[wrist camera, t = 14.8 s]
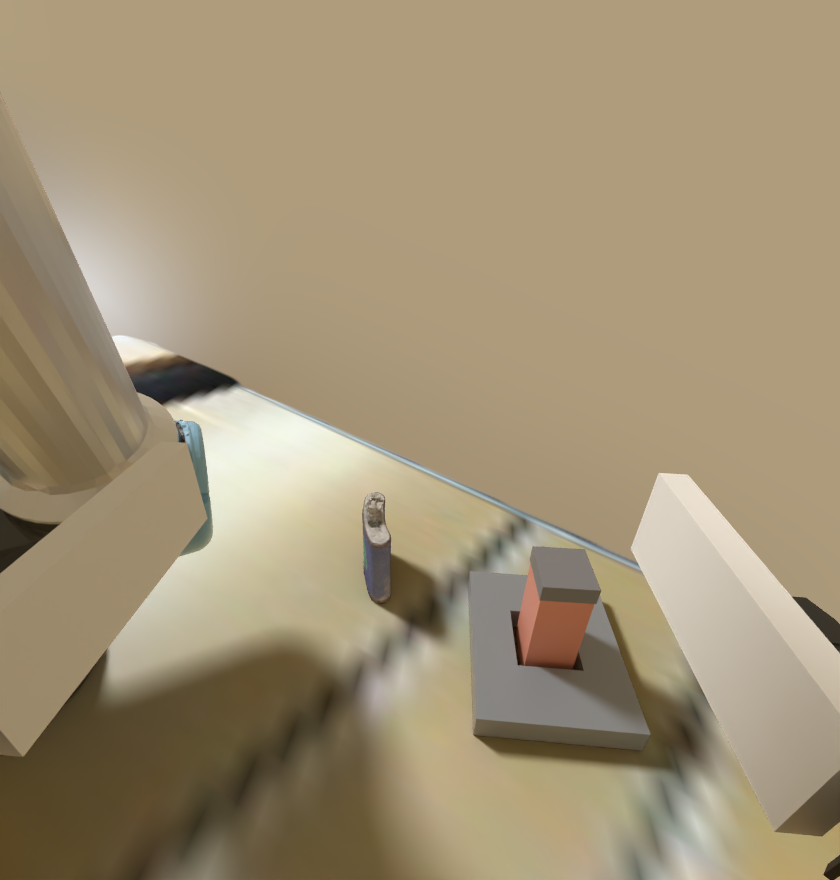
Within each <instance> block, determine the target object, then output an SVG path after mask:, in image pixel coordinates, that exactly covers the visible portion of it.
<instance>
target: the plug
mask: <svg viewBox="0 0 840 880" xmlns="http://www.w3.org/2000/svg"><path fill="white" fill-rule="evenodd" d="M530 562H531V563H530V568H529V573H528V577H527V582H526V587H525V591H524V596H523V600H522V605H521V610H520V614H519V619H518V624H517V628H516V633H515V636H516V642H517V648H518V654H519V661H520V665H521V666H533V667H545V668H556V669H568V670H572V669H573V666H574V663H575V660H576V657H577V654H578V652H579V649H580V646H581V643H582V640H583V637H584V634H585V631H586V628H587V625H588V622H589V619H590V616H591V613H592V610H593V607H594V604H597V601H598V598H599V595H600V593H601V589H600V587H599V584H598V582H597V579H596V577H595V574H594V572H593V569H592V567H591V564H590V562H589V559H588V556H587V554H586V551H585V549H568V548H551V547H534V546H533V547H532V552H531V557H530Z"/></svg>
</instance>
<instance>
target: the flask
mask: <svg viewBox="0 0 840 880" xmlns="http://www.w3.org/2000/svg"><path fill="white" fill-rule="evenodd" d="M362 520H363V543H364V575H365V580H366V585H367V590H368V593H369V596H370V598H371V599H372V600H373V601H374V602H376V603H383V602H387V601H388V599H389V598H390V595H391V589H390V552H391V537H390V536H391V535H390V533H389V531H388V529H387V526H386V523H385V497H384V495H382V494H381V493H378V492H375V493H370V494H368V495H367V496H366V498H365V501H364V507H363V513H362ZM378 601H379V602H378Z"/></svg>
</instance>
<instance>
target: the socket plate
mask: <svg viewBox="0 0 840 880" xmlns="http://www.w3.org/2000/svg"><path fill="white" fill-rule="evenodd" d="M527 577H528V576H527V575H513V574H500V573H487V572H474V571H470V576H469V584H468V595H469V624H470V652H471V680H472V708H473V735H479V736H489V737H500V738H511V739H522V740H532V741H543V742H554V743H565V744H575V745H586V746H597V747H607V748H618V749H629V750H640V751H642V750H643V748H644V746H645V744H646V743H647V741H648V739H649V737H650V735H651V734H650V731H649V728H648V726H647V723H646V720H645V718H644V715H643V712H642V709H641V707H640V704H639V701H638V698H637V696H636V693H635V690H634V688H633V685H632V682H631V679H630V677H629V674H628V671H627V669H626V666H625V663H624V660H623V658H622V655H621V652H620V650H619V647H618V644H617V641H616V639H615V636H614V633H613V630H612V628H611V625H610V622H609V620H608V617H607V614H606V611H605V609H604V606H603V603H602V601H601V598H600V595H599V598H598V601H597V604H594V607H593V610H592V613H591V616H590V619H589V622H588V625H587V628H586V631H585V634H584V637H583V640H582V643H581V646H580V649H579V652H578V654H577V657H576V660H575V663H574V666H573V669H574V670H568V669H556V668H545V667H533V666H521V665H517V657H516V650H515V642H514V635H513V628H512V627H517V624H518V619H519V614H520V610H521V605H522V600H523V596H524V591H525V587H526V582H527Z"/></svg>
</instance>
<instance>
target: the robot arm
mask: <svg viewBox="0 0 840 880" xmlns="http://www.w3.org/2000/svg"><path fill="white" fill-rule="evenodd" d="M212 534H213V525H212V513H211V504H210V497H209V487H208V475H207V466H206V459H205V451H204V444H203V437H202V432H201V428H200V427H199V425H198V424H197V423H195V422H192V421H188V422H185V421H183V420H180V421H174V420H173V418H172V417H171V415H170V413H169V412H168V411H167V410H166V409H165V408H164V407H163V406H162V405H161V404H159V403H158V402H156V401H155V400H153V399H151V398H150V397H147V396H145V395H143V394H140V393H137V392H136V390H135V388H134V386H133V384H132V381H131V379H130V377H129V375H128V373H127V370H126V368H125V366H124V364H123V362H122V359H121V357H120V355H119V353H118V351H117V348H116V346H115V344H114V342H113V340H112V337H111V335H110V333H109V331H108V329H107V326H106V324H105V322H104V320H103V318H102V315H101V313H100V311H99V309H98V307H97V305H96V302H95V300H94V298H93V296H92V293H91V291H90V289H89V287H88V285H87V282H86V280H85V278H84V276H83V274H82V272H81V269H80V267H79V265H78V263H77V260H76V258H75V256H74V254H73V252H72V250H71V247H70V245H69V243H68V241H67V239H66V236H65V234H64V232H63V230H62V227H61V225H60V223H59V221H58V219H57V217H56V214H55V212H54V210H53V208H52V206H51V203H50V201H49V199H48V197H47V194H46V192H45V190H44V188H43V186H42V183H41V181H40V179H39V177H38V175H37V172H36V170H35V168H34V166H33V164H32V161H31V159H30V157H29V155H28V153H27V150H26V149H25V146H24V144H23V142H22V139H21V137H20V135H19V133H18V130H17V128H16V126H15V124H14V122H13V120H12V117H11V115H10V113H9V111H8V109H7V106H6V104H5V102H4V100H3V98H2V95H1V93H0V755H7V756H17V757H24V755H25V754H26V753H27V751H28V750H29V749H30V748H31V746H32V745H33V744H34V742H35V741H36V740H37V739H38V737H39V736H40V735H41V733H42V732H43V731H44V730H45V728H46V727H47V726H48V724H49V723H50V722H51V720H52V719H53V718H54V717H55V715H56V714H57V713H58V711H59V710H60V709H61V708H62V706H63V705H64V704H65V702H66V701H67V700H68V699H69V698H70V697H71V696H72V695H73V693H74V692H75V691H76V690H77V689H78V687H79V686H80V685H81V684H82V682H83V681H84V680H85V678H86V677H87V675H88V673H89V672H90V670H91V669H92V667H93V666H94V665H95V664H96V662H97V661H98V660H99V658H100V657H101V656H102V655H103V653H104V652H105V651H106V649H107V648H108V647H109V645H110V644H111V643H112V642H113V640H114V639H115V638H116V636H117V635H118V634H119V633H120V631H121V630H122V629H123V627H124V626H125V625H126V623H127V622H128V621H129V620H130V618H131V617H132V616H133V614H134V613H135V612H136V611H137V609H138V608H139V607H140V605H141V604H142V603H143V601H144V600H145V599H146V598H147V596H148V595H149V594H150V592H151V591H152V590H153V589H154V587H155V586H156V585H157V583H158V582H159V581H160V579H161V578H162V577H163V576H164V574H165V573H166V572H167V570H168V569H169V568H170V567H171V565H172V564H173V563H174V561H175V560H176V559H177V558H178V557H179V556H183V555H186V554H189V553H192V552H196V551H199V550H201V549H203V548H204V547H205V546H206V545H207V544H208V543H209V542H210V540H211V538H212ZM631 550H632V552H633V554H634V556H635V558H636V560H637V562H638V564H639V566H640V568H641V570H642V572H643V574H644V576H645V578H646V580H647V582H648V584H649V586H650V588H651V590H652V592H653V594H654V596H655V598H656V599H657V601H658V603H659V605H660V607H661V609H662V611H663V613H664V615H665V617H666V619H667V621H668V623H669V625H670V627H671V629H672V631H673V633H674V635H675V637H676V639H677V641H678V643H679V645H680V647H681V649H682V651H683V653H684V655H685V657H686V659H687V661H688V663H689V665H690V667H691V669H692V670H693V672H694V674H695V676H696V678H697V680H698V682H699V684H700V686H701V688H702V690H703V692H704V694H705V696H706V698H707V700H708V702H709V704H710V706H711V708H712V710H713V712H714V714H715V716H716V718H717V720H718V722H719V724H720V726H721V728H722V730H723V732H724V734H725V736H726V738H727V740H728V742H729V743H730V745H731V747H732V749H733V751H734V753H735V755H736V757H737V759H738V761H739V763H740V765H741V767H742V769H743V771H744V773H745V775H746V777H747V779H748V781H749V783H750V785H751V787H752V789H753V791H754V793H755V795H756V797H757V799H758V801H759V803H760V805H761V807H762V809H763V811H764V813H765V815H766V816H767V818H768V820H769V822H770V824H771V826H772V828H773V830H774V832H782V833H792V834H802V835H812V836H823V835H824V834H825V833H827V832H828V831H829V830H830V829H831V828H833V827H834V826H835V825H836V824H837V823H839V822H840V624H839V623H838V622H837V621H836V620H835V619H834V618H832V617H831V616H830V615H828V614H827V613H826V612H824V611H823V610H822V609H820V608H819V607H818V606H816V605H815V604H814V603H812V602H811V601H809V600H808V599H807V598H803V597H791V595H790V594H789V593H788V592H787V591H786V590H785V589H784V587H783V586H782V585H781V584H780V582H779V581H778V580H777V579H776V578H775V577H774V576H773V574H772V573H771V572H770V571H769V570H768V568H767V567H766V566H765V565H764V564H763V563H762V561H761V560H760V559H759V558H758V557H757V555H756V554H755V553H754V552H753V551H752V550H751V548H750V547H749V546H748V545H747V544H746V543H745V541H744V540H743V539H742V538H741V537H740V535H738V533H737V532H736V531H735V530H734V528H733V527H732V526H731V525H730V524H729V523H728V521H727V520H726V519H725V518H724V517H723V515H721V513H720V512H719V511H718V510H717V508H716V507H715V506H714V505H713V504H712V503H711V502H710V500H709V499H708V498H707V497H706V496H705V494H704V493H703V492H702V491H701V490H700V488H699V487H698V486H697V485H696V484H695V483H694V481H693V480H692V479H691V478H690V477H689V476H688V475H682V474H666V473H659V474H658V477H657V480H656V482H655V485H654V488H653V490H652V493H651V496H650V498H649V501H648V504H647V507H646V509H645V512H644V515H643V517H642V520H641V523H640V525H639V528H638V531H637V534H636V536H635V539H634V542H633V544H632V547H631ZM823 875H824V876H826V877H827V878H828V879H830V880H835V879H836V878H837V877H839V876H840V855H839V856H838V857H837V858H835V859H834V860H833V861H831V862H830V863H829V864H828V865H827V868H826V870H825V872H824V874H823Z"/></svg>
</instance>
